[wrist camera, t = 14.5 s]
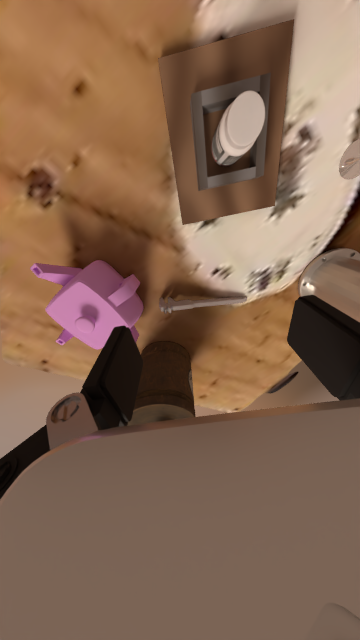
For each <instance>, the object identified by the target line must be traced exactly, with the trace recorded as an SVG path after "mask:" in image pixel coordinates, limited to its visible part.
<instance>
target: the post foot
mask: <svg viewBox="0 0 360 640" xmlns="http://www.w3.org/2000/svg"><path fill="white" fill-rule="evenodd" d="M293 26H294V19H293V20H290V21H286V22H283V23H279V24H276V25H272V26H269V27H265V28H262V29H258V30H255V31H251V32H248V33H245V34H241V35H238V36H234V37H231V38H227V39H224V40H220V41H217V42H213V43H210V44H206V45H203V46H199V47H196V48H192V49H189V50H186V51H182V52H179V53H175V54H172V55H168V56H165V57H161V58H158V61H159V69H160V76H161V83H162V89H163V96H164V103H165V109H166V116H167V123H168V130H169V136H170V143H171V150H172V156H173V163H174V170H175V177H176V183H177V190H178V197H179V203H180V210H181V217H182V224H183V225H184V224H189V223H194V222H199V221H204V220H209V219H213V218H218V217H223V216H228V215H233V214H238V213H242V212H247V211H252V210H257V209H262V208H267V207H271V206H275V198H276V189H277V179H278V169H279V160H280V150H281V141H282V131H283V122H284V112H285V102H286V93H287V83H288V74H289V64H290V55H291V45H292V35H293ZM245 91H255V92H257V93H258V94H259V95H260V96H261V98H262V100H263V102H264V106H265V120H264V124H263V127H262V130H261V132H260V134H259V135H258V137H257V139H256V141H255V142H254V144H253V146H252V147H251V148H250V149H249V150H248V151H247V152H246V153H245V154H244V155H243V156H242V157H241V158H239V159H238V160H237V161H236V162H235V163H233V164H232V165H230V166H221V165H219V164H218V163H217V162H216V161H215V160H214V158H213V155H212V150H211V144H212V139H213V136H214V133H215V131H216V129H217V127H218V125H219V122H220V120H221V118H222V116H223V114H224V112H225V110H226V109H227V108H228V106H229V105H230V104H231V103H232V102H233V101H234V100H235V99H236V98H237V97H238V96H239V95H240V94H241V93H243V92H245Z"/></svg>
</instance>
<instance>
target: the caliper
mask: <svg viewBox="0 0 360 640" xmlns="http://www.w3.org/2000/svg"><path fill="white" fill-rule="evenodd" d="M246 299H247V297H229V298H218V299H207V300H195V301H190V300H189V299H188V300H181V301H174V300H173V299H172V298H171V297H168V302H169V303H165V302H164V300H163V297H161V298H160V302H159V305H160V309H161V311H164V312H165V314H166V313H167V311H168V312H170V313H171V310H173V311H174V310H183V309H192V308H194V307H204V306H215V305H225V304H235V303H243V302H245V301H246Z"/></svg>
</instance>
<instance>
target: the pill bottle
mask: <svg viewBox="0 0 360 640" xmlns="http://www.w3.org/2000/svg"><path fill="white" fill-rule="evenodd" d="M264 120H265V106H264V102H263V100H262V98H261V96H260V95H259V94H258V93H257V92H255V91H245V92H243V93H241V94H240V95H239V96H238V97H237V98H236V99H235V100H234V101H233V102H232V103H231V104H230V105H229V106H228V108H227V109H226V110H225V112H224V114H223V116H222V118H221V120H220V122H219V125H218V127H217V129H216V131H215V133H214V136H213V139H212V144H211V150H212V155H213V158H214V160H215V161H216V162H217V163H218V164H219V165H221V166H230V165H232V164H233V163H235V162H236V161H237V160H238V159H239V158H241V157H242V156H243V155H244V154H245V153H246V152H247V151H248V150H249V149H250V148H251V147H252V146H253V144H254V142H255V141H256V139H257V137H258V135H259V134H260V132H261V130H262V127H263V124H264Z"/></svg>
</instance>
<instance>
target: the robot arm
mask: <svg viewBox="0 0 360 640" xmlns="http://www.w3.org/2000/svg"><path fill="white" fill-rule="evenodd" d="M298 292H299V295H300V297H299V298H298V300H296V301H295V305H294V309H293V314H292V319H291V323H290V328H289V333H288V337H287V341H288V344H289V345H290V346H291V347H292V349H293V350H294V351H295V352H296V353H297V354H298V356H299V357H300V358H301V359H302V360H303V361H304V363H305V364H306V365H307V366H308V367H309V369H310V370H311V371H312V372H313V373H314V374H315V375H316V377H317V378H318V379H319V380H320V381H321V383H322V384H323V385H324V386H325V387H326V388H327V390H328V391H329V392H330V393H331V394H332V395H333V396H334V397H337V398H338V399H339V400H340V401H332V402H322V403H314V404H304V405H295V406H286V407H277V408H269V409H260V410H251V411H243V412H234V413H225V414H217V415H209V416H200V417H192V418H184V419H175V420H167V421H159V422H151V423H144V424H137V425H129V426H127V425H128V422H129V421H131V419H132V415H133V410H134V406H135V401H136V396H137V392H138V387H139V382H140V378H141V373H142V368H143V359H142V357H141V355H140V352H139V350H138V347H137V345H136V343H135V340H134V338H133V336H132V333H131V331H130V329H129V328H128V327H127V328H126V326H118V327H114V328H113V330H112V332H111V334H110V336H109V338H108V340H107V341H106V343H105V345H104V347H103V349H102V351H101V353H100V355H99V356H98V358H97V360H96V362H95V364H94V366H93V368H92V370H91V371H90V373H89V375H88V377H87V379H86V381H85V383H84V385H83V386H82V387H83V389H82V390H81V392H80V393H72V394H69V395H67V396H65V397H63V398H62V399H61V400H59V401H58V402H57V403H56V404H55V405H54V406H53V407H52V409H51V410H50V411H49V413H48V416H47V419H46V425H45V426H44V427H42V428H41V429H40V430H38V431H37V432H36V433H34V434H33V435H32V436H30V437H29V438H28V439H26V440H25V441H24V442H22V443H21V444H20V445H18V446H17V447H16V448H14V449H13V450H12V451H10V452H9V453H8V454H6V455H5V456H4V457H2V458H1V459H0V640H360V253H358V252H357V251H355V250H353V249H348V248H337V249H333V250H330V251H327V252H325V253H323V254H321V255H320V256H318V257H317V258H316V259H314V260H313V261H312V262H311V263H310V264H309V265H308V266H307V268H306V269H305V270H304V272H303V273H302V275H301V277H300V280H299V283H298Z"/></svg>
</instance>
